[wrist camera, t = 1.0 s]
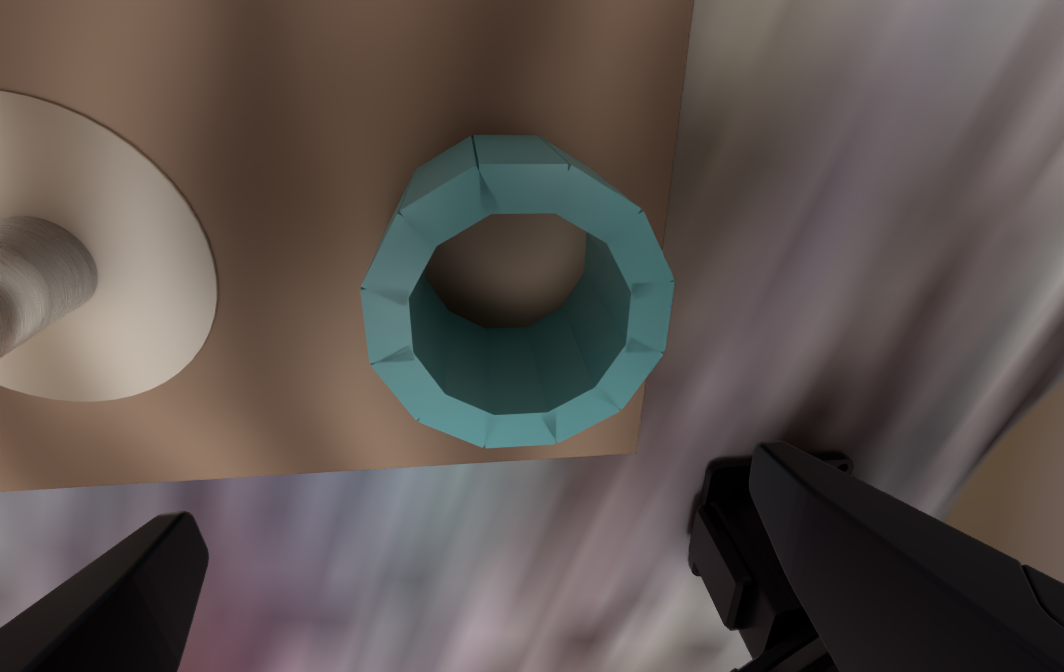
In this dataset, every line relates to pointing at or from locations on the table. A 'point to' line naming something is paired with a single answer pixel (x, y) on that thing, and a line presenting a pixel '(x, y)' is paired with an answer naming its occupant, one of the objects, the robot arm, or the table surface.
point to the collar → (524, 352)
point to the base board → (294, 214)
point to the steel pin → (40, 277)
